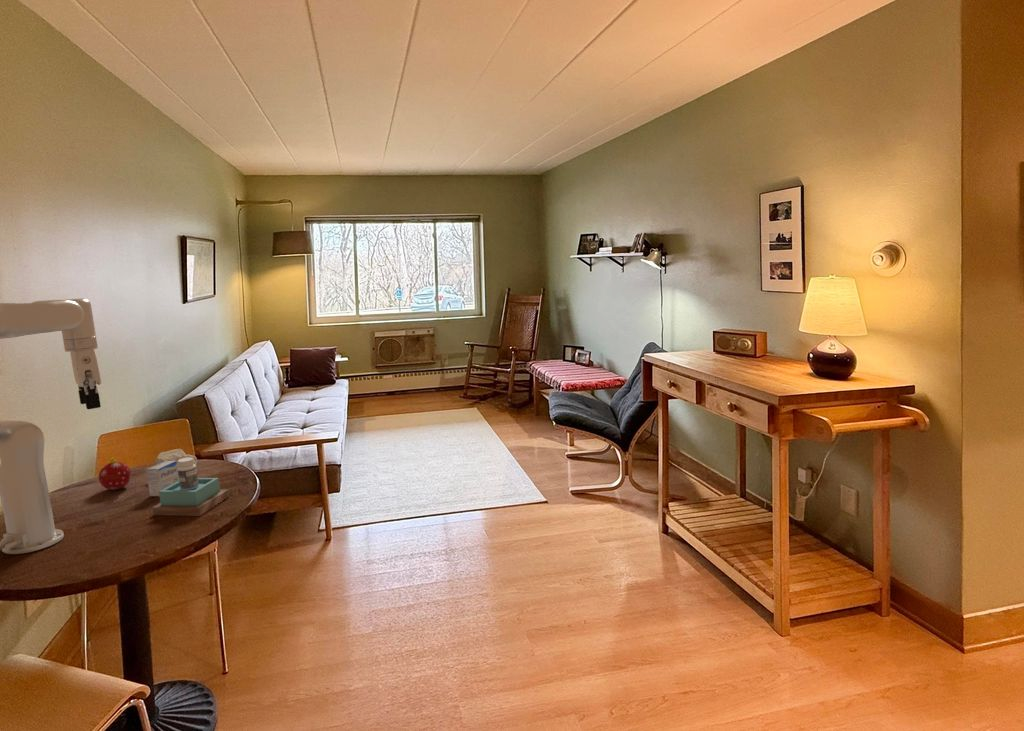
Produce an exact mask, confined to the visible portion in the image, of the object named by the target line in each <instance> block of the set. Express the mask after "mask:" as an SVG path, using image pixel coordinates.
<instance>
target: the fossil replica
mask: <svg viewBox="0 0 1024 731" xmlns="http://www.w3.org/2000/svg"><path fill="white" fill-rule="evenodd" d="M189 457H190V458H193V459H194V464H195V465H196V466H197V463H198V459H197V457H196V456H195V455H191V454H186V452H184V450H183V449H181V448H176V449H170V450H167V451H161V452H160V453H159V454H158V455H157V456H156V457H155V460H154V464H155V465H157V464H160V463H162V462H164V461H177V467H179V466H178V460H180V459H182V458H189ZM155 465H154V466H155Z"/></svg>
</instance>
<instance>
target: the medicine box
mask: <svg viewBox="0 0 1024 731" xmlns="http://www.w3.org/2000/svg"><path fill="white" fill-rule="evenodd" d="M145 472H146V477H147V485H148V490H149V491H148V492H149V496H150V497H160V496H159V491H161V490H163V489H165V488H166V487H168V486H170V485H172V484H174V483H176V482H178V481H179V476H178V467H177V461H164V462H162V463H160V464H157V465H153V466H151V467H148V468H146V469H145Z"/></svg>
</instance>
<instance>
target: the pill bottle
mask: <svg viewBox="0 0 1024 731" xmlns="http://www.w3.org/2000/svg"><path fill="white" fill-rule="evenodd" d="M178 466H179V467H178V476H179V483H180V489H181V490H192V489H195V488H197V487H198V486H199V484H198V478H199V476H198V469H197V464H196V465H195V464H194V459H193V458H190V457H189V458H182V459H180V460H178Z"/></svg>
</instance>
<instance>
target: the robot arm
mask: <svg viewBox="0 0 1024 731" xmlns="http://www.w3.org/2000/svg"><path fill="white" fill-rule="evenodd" d="M92 309H93V308H92V304H91V301H90V300H89V299H87V298H69V299H67V298H66V299H49V300H47V299H46V300H35V301H32V302H30V303H29V302H27V303H26V302H25V303H21V302H18V303H14V302H13V303H10V302H0V340H3V339H13V338H18V337H23V336H24V337H25V336H31V335H38V334H48V333H55V332H61V334H62V341H63V347H64V352H68V353H70V358H71V360H70V361H71V365H72V366H71V367H72V371H73V376H74V380H75V383H76V384H77V387H78V390H77V391H78V396H79V403H80V404H81V405H85V407H86V410H93V409H98V408H99V409H100V408H101V402H100V401H101V399H100V394H99V391H98V387H97V385H98V386H99V385H100V386H101V384H102V380H101V374H100V370H99V364H98V359H97V355H96V351H95V350H97V349H99V348H98V341H97V335H96V328H95V322H94V317H93V316H94V315H93V310H92ZM44 454H45V435H44V432H43V430H41V428H40V427H39V426H38V425H36V424H35V423H32V422H31V421H30V422H28V421H26V420H25V421H23V420H0V501H1V502H0V503H1V508H2V512H3V518H4V524H5V529H6V533H3V534H2V535H3V538H2V539H1V541H0V551H2V552H3V553H4V554H7V555H21V554H28V553H32V552H36V551H39V550H42V549H45V548H49V547H51V546H53V545H55V544H57V543H58V542H59V543H60V541H61V540H63V538H64V537H65V534H64V531H63V530H62V529H59V528H56V527H55V526H56V525H55V522H54V514H53V508H52V504H51V499H50V493H49V487H48V482H47V481H48V479H47V475H46V470H45V460H44V458H45V456H44Z"/></svg>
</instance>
